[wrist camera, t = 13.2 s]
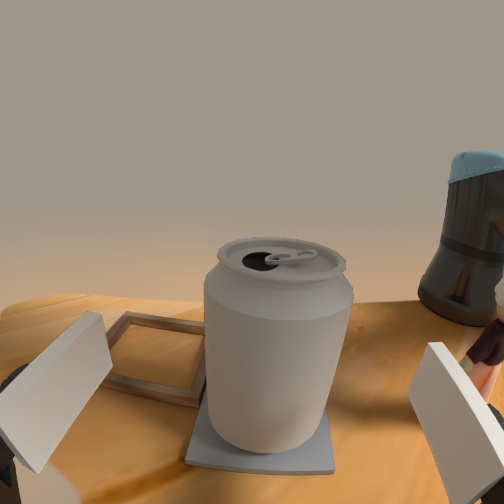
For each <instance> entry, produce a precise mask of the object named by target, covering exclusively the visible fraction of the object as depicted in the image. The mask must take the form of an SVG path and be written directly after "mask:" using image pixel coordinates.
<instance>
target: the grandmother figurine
mask: <svg viewBox="0 0 504 504" xmlns="http://www.w3.org/2000/svg"><path fill="white" fill-rule="evenodd" d="M495 293H496V295H495V299H496V302H497V315H498V318H497V319H495V320H494V321H492V322H491V323H489V324H488V325H487V326H486V328H485V329H484V331H483V333H482V335H481V336H480V337H479V338H478V340H477V341H476V342H475V343H474V344H473V346H472V347H471V348H470V349H469V350H468V351H467V352H466V355H465V356H464V358H463V359H462V360H461V361H460V363H459V365H460V366H461V368H462V369H463V370H464V372H465V373H466V375H467V376H468V377H469V379H470V380H471V382H472V383H473V384H474V386H475V387H476V389H477V390H478V392H479V393H480V395H481V396H482V398H483V399H484V401H485V402H486V404H487V402H488V400H489V397H490V395H491V392H492V389H493V387H494V384H495V382H496V380H497V377H498V374H499V371H500V369H501V365H502V361H503V360H504V278H502V279H501V280H500V282H499V283H498V284H497V285H496V286H495Z"/></svg>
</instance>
